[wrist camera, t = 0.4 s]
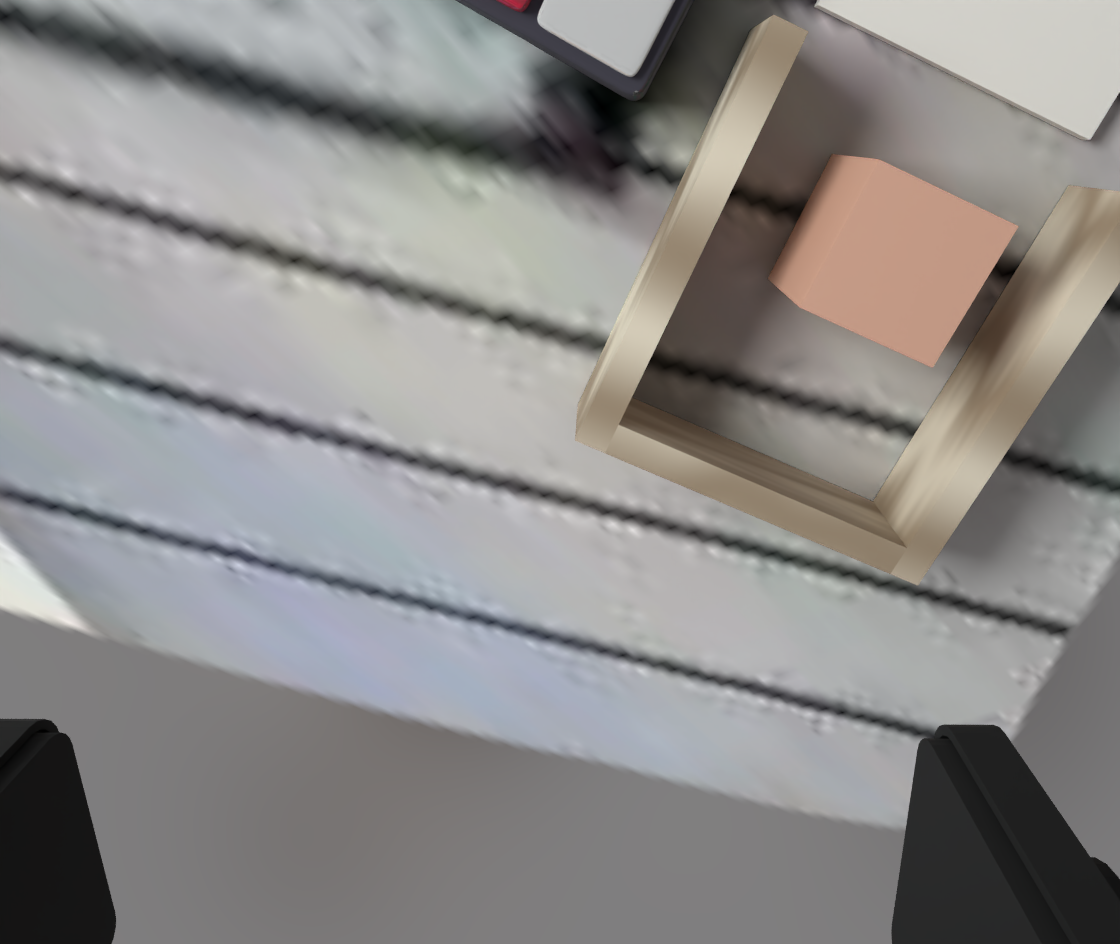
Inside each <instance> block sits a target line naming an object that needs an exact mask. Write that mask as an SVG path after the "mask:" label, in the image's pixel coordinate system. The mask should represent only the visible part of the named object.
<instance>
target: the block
mask: <svg viewBox="0 0 1120 944" xmlns="http://www.w3.org/2000/svg"><path fill="white" fill-rule="evenodd" d="M1018 227H1019V226H1017V225H1015V224H1013V223H1011V222H1009V221H1006V220H1004V219H1002V218H1000V217H998V216H996V215H994V214H992V213H990V212H988V211H986V210H984V209H981V208H979V207H977V206H975V205H973V204H971V203H969V202H967V201H965V200H963V199H961V198H959V197H956V196H954V195H952V194H950V193H948V192H946V191H944V190H942V189H940V188H938V187H936V186H934V185H931V184H929V183H927V182H925V181H923V180H921V179H919V178H917V177H915V176H913V175H911V174H909V173H906V172H904V171H902V170H900V169H898V168H896V167H894V166H892V165H890V164H888V163H886V162H884V161H882V160H879V159H872V158H863V157H854V156H845V155H836V154H832V155H831V157H830V159H829V161H828V163H827V165H826V167H825V169H824V170H823V172H822V174H821V176H820V178H819V180H818V182H817V184H816V186H815V188H814V190H813V192H812V194H811V196H810V198H809V200H808V201H807V203H806V205H805V207H804V209H803V211H802V213H801V215H800V217H799V219H798V221H797V223H796V225H795V227H794V229H793V231H792V232H791V234H790V236H789V238H788V240H787V242H786V244H785V246H784V248H783V250H782V252H781V254H780V256H779V258H778V260H777V262H776V263H775V265H774V267H773V269H772V271H771V273H770V275H769V277H768V280H770V281H771V282H772V283H773V284H774V285H775V286H776V287H777V288H778V289H780V290H781V291H782V292H783V293H784V294H785V295H786V296H787V297H789V298H790V299H791V300H792V301H793V302H794V303H795V304H796V305H797V306H799V307H800V308H802V309H804V310H806V311H808V312H811V313H813V314H815V315H817V316H819V317H822V318H824V319H826V320H828V321H830V322H833V323H835V324H837V325H839V326H841V327H844V328H846V329H848V330H850V331H852V332H855V333H857V334H859V335H861V336H863V337H866V338H868V339H870V340H872V341H874V342H877V343H879V344H881V345H883V346H885V347H888V348H890V349H892V350H894V351H896V352H899V353H901V354H903V355H905V356H907V357H910V358H912V359H914V360H916V361H918V362H921V363H923V364H925V365H927V366H929V367H932V368H933V366H934V365H935V363H936V361H937V360H938V358H939V357H940V355H941V353H942V352H943V350H944V348H945V347H946V345H947V343H948V342H949V340H950V338H951V337H952V335H953V333H954V332H955V330H956V329H957V327H958V325H959V324H960V322H961V320H962V319H963V317H964V315H965V314H966V312H967V310H968V309H969V307H970V306H971V304H972V302H973V301H974V299H975V297H976V296H977V294H978V292H979V291H980V289H981V287H982V286H983V284H984V282H985V281H986V279H987V278H988V276H989V274H990V273H991V271H992V269H993V268H994V266H995V264H996V263H997V261H998V259H999V258H1000V256H1001V255H1002V253H1003V251H1004V250H1005V248H1006V246H1007V245H1008V243H1009V241H1010V240H1011V238H1012V236H1013V235H1014V233H1015V231H1016V230H1017V228H1018Z"/></svg>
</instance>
